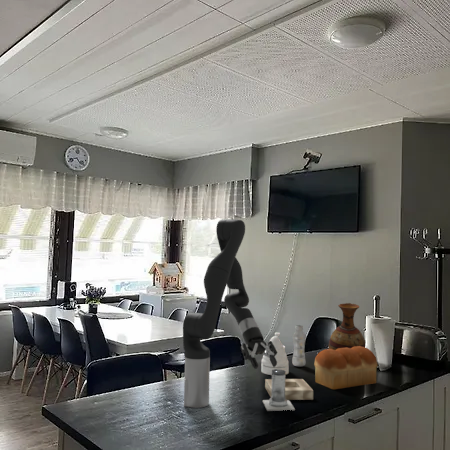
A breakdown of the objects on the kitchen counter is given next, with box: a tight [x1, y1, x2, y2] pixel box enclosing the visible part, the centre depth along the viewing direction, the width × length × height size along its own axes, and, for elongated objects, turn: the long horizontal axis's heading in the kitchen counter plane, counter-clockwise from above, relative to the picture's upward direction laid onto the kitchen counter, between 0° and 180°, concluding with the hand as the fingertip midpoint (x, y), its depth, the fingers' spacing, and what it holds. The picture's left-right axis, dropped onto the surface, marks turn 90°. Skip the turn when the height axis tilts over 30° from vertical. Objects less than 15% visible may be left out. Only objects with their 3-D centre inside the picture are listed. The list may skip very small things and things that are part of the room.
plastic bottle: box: [291, 324, 307, 368], centre depth 230 cm, size 6×7×20 cm
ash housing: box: [264, 378, 314, 401], centre depth 185 cm, size 16×16×4 cm
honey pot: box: [261, 332, 290, 376], centre depth 219 cm, size 13×13×18 cm
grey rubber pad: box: [262, 399, 296, 412], centre depth 169 cm, size 10×10×1 cm
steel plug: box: [268, 369, 287, 407], centre depth 170 cm, size 7×7×12 cm
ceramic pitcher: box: [328, 302, 366, 350], centre depth 248 cm, size 20×20×30 cm
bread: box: [313, 346, 378, 390], centre depth 202 cm, size 25×12×15 cm, turn 117°
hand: (266, 366), depth 177 cm, fingers open, 8 cm apart
